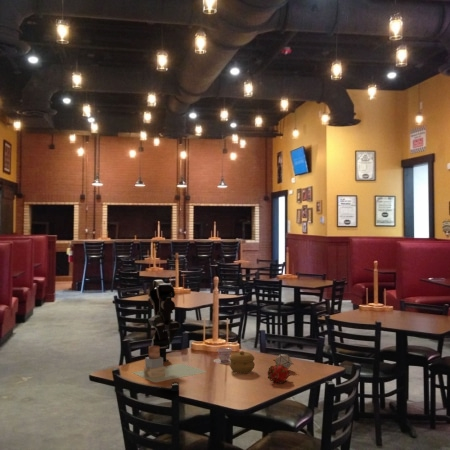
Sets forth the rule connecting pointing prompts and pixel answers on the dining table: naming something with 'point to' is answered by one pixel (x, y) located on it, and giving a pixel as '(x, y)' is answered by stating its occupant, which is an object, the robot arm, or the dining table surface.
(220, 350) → the teacup
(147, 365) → the tower top
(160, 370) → the tower base
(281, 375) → the dragon fruit
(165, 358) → the robot arm
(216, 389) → the dining table surface
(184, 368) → the felt mat
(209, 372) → the dining table surface
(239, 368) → the pot
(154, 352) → the terracotta cylinder
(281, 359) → the game die
